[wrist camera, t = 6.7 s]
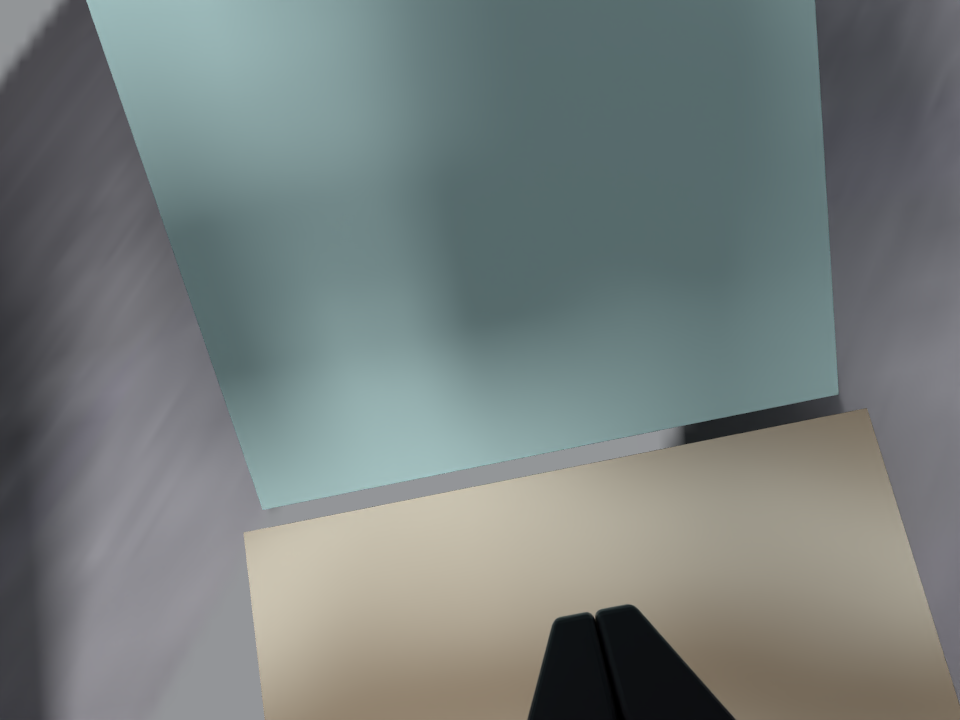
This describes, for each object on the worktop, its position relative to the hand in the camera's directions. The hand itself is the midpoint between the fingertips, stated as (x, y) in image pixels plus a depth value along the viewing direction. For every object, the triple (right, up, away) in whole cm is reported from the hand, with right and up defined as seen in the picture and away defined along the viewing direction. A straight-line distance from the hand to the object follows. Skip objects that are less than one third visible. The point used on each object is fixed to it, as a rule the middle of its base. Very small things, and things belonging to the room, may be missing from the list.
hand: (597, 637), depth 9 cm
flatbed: (+1, -5, +9) cm, 10 cm away
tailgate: (0, +1, +10) cm, 10 cm away
